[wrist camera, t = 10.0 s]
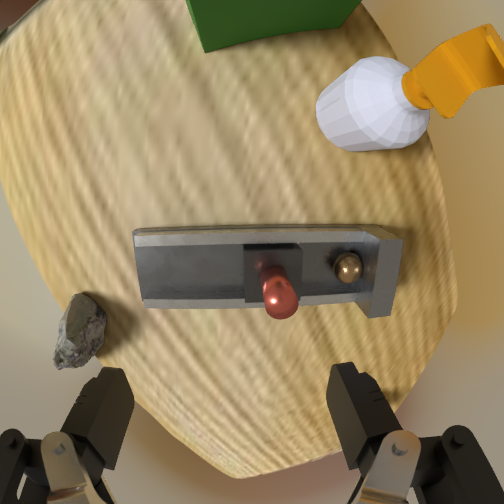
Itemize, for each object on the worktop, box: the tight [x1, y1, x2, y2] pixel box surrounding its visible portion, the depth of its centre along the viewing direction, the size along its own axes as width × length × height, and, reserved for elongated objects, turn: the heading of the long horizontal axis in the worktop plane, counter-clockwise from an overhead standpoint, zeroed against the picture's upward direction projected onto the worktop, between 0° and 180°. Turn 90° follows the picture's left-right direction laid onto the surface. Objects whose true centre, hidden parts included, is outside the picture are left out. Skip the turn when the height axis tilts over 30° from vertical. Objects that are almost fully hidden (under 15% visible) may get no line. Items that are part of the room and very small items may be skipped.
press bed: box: [132, 224, 404, 318], centre depth 30 cm, size 9×30×8 cm, turn 91°
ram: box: [243, 243, 303, 319], centre depth 27 cm, size 6×6×10 cm
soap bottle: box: [316, 24, 504, 151], centre depth 17 cm, size 9×9×25 cm
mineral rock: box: [53, 293, 106, 370], centre depth 30 cm, size 13×11×10 cm
